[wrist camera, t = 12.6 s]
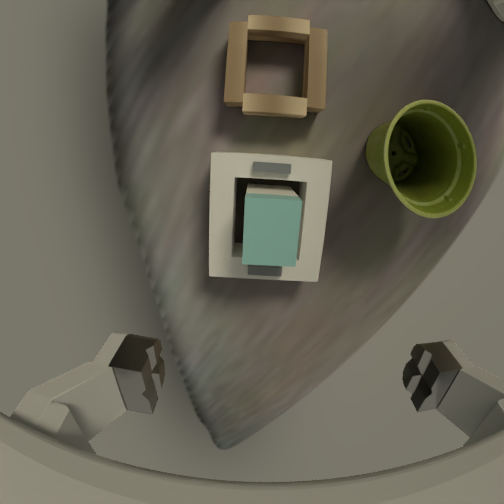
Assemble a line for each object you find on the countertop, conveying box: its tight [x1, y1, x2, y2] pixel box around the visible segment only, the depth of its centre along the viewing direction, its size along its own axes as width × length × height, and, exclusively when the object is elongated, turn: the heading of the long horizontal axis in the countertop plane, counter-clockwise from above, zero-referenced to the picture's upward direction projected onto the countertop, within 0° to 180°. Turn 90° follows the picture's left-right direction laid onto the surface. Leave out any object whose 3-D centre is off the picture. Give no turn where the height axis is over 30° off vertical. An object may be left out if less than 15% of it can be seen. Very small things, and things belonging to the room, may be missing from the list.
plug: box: [242, 184, 302, 267], centre depth 25 cm, size 4×5×8 cm
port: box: [209, 152, 332, 282], centre depth 26 cm, size 10×11×4 cm
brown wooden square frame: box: [224, 15, 327, 119], centre depth 22 cm, size 9×10×3 cm
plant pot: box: [366, 100, 477, 218], centre depth 22 cm, size 9×9×9 cm
